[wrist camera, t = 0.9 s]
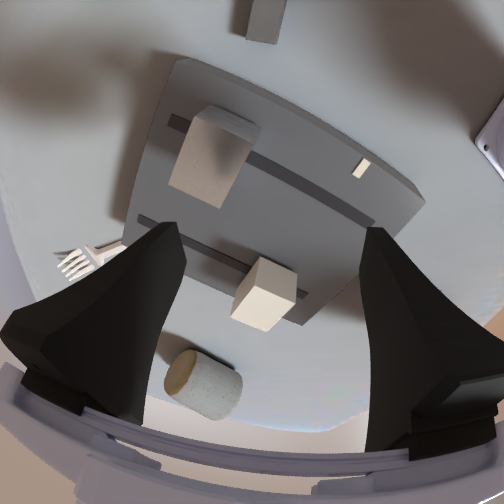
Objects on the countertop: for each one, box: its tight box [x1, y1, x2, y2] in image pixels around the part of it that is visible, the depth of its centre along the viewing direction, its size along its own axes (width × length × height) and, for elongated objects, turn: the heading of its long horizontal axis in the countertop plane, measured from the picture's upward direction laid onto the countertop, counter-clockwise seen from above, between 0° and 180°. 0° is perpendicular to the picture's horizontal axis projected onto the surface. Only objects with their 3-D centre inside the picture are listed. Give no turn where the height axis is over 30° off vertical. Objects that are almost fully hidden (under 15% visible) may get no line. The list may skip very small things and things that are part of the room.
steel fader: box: [168, 104, 261, 209], centre depth 15 cm, size 3×4×3 cm
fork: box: [58, 240, 127, 281], centre depth 26 cm, size 3×20×2 cm, turn 114°
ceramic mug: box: [164, 349, 243, 420], centre depth 36 cm, size 11×8×8 cm
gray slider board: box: [121, 58, 426, 326], centre depth 20 cm, size 17×15×3 cm
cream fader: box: [230, 256, 297, 332], centre depth 21 cm, size 3×4×3 cm
